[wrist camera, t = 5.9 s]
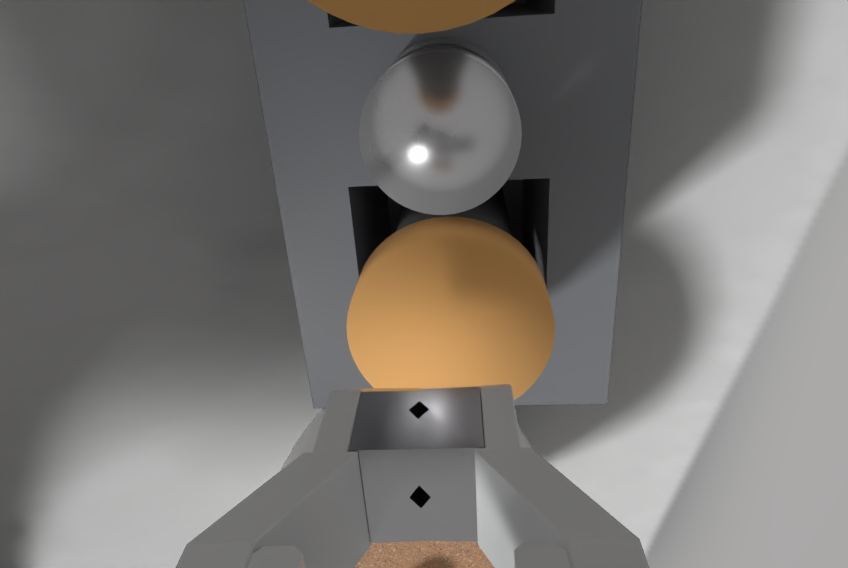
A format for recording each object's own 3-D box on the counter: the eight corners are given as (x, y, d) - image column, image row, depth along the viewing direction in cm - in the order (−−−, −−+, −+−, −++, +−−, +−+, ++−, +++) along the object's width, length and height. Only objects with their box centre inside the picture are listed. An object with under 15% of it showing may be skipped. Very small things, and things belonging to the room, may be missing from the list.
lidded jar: (550, 329, 25) (595, 507, 16) (533, 521, 29) (561, 737, 21) (288, 324, 25) (202, 495, 17) (313, 514, 30) (255, 721, 22)
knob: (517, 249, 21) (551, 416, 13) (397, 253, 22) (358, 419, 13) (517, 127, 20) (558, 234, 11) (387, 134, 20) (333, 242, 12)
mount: (563, 275, 24) (607, 404, 16) (357, 281, 24) (313, 408, 17) (586, -259, 17) (679, -440, 9) (296, -231, 17) (177, -382, 10)
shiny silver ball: (509, 166, 14) (520, 211, 11) (385, 172, 14) (367, 218, 11) (509, 32, 13) (522, 45, 10) (373, 40, 13) (350, 56, 10)
